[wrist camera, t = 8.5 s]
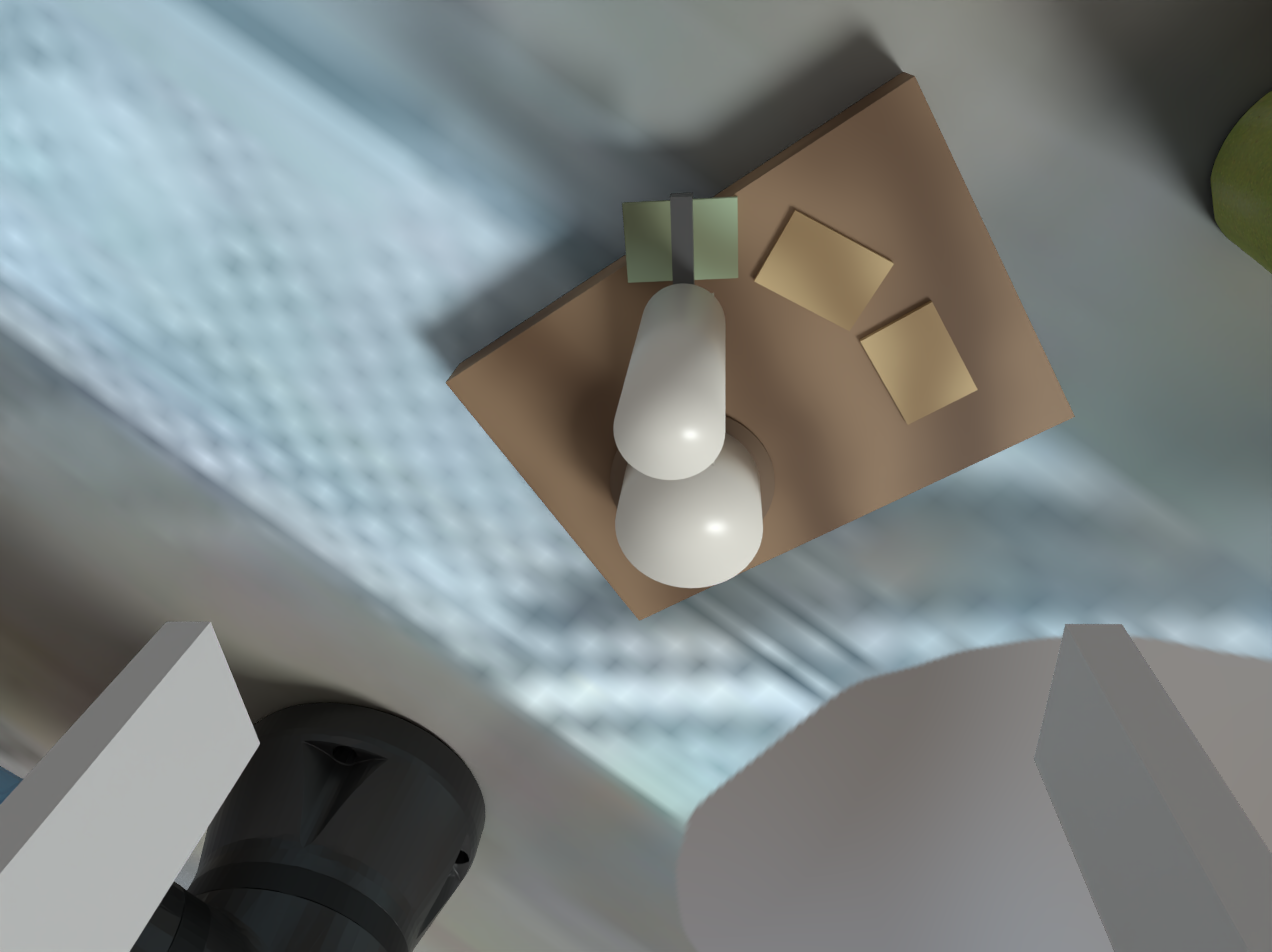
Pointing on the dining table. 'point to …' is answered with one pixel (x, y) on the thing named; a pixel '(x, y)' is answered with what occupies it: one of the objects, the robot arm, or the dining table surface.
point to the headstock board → (791, 341)
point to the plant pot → (1247, 183)
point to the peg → (683, 437)
